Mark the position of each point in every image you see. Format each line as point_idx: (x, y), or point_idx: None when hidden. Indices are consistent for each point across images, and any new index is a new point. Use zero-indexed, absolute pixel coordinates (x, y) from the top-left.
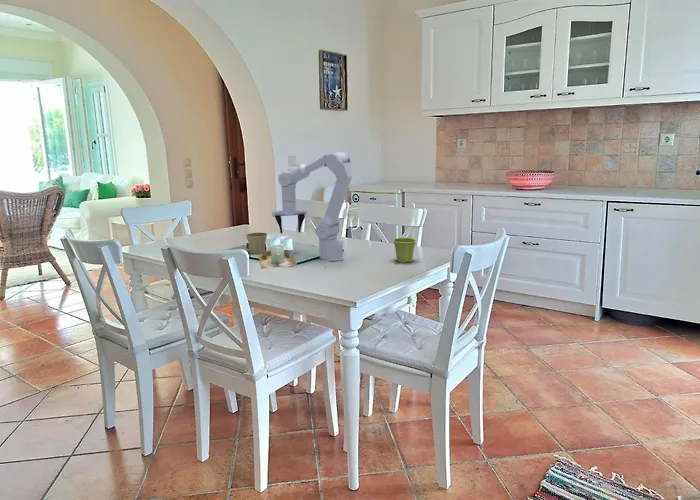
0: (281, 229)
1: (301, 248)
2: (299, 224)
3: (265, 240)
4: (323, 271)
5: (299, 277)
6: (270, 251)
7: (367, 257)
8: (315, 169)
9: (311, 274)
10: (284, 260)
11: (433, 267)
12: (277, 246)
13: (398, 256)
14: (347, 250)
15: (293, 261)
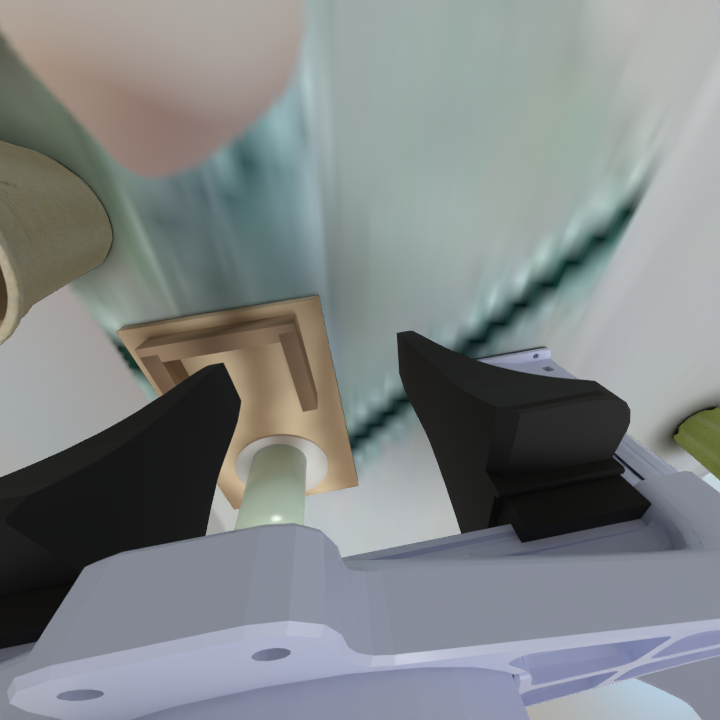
0: (225, 440)
1: (384, 50)
2: (433, 442)
3: (42, 244)
4: (430, 504)
5: (363, 540)
6: (191, 353)
7: (634, 374)
8: None
9: (395, 523)
10: (302, 441)
11: (699, 476)
12: None
13: (691, 453)
14: (651, 217)
15: (341, 443)
